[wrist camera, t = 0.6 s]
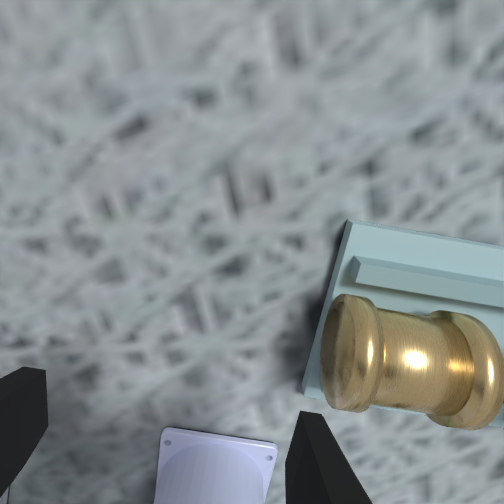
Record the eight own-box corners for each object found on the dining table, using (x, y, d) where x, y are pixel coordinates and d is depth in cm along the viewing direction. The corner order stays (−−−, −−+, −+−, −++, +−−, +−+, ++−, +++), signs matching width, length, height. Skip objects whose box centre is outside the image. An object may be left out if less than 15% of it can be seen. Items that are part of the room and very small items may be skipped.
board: (525, 420, 20) (555, 451, 18) (301, 384, 20) (306, 412, 18) (618, 266, 17) (669, 283, 15) (347, 219, 16) (360, 229, 14)
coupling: (314, 357, 18) (335, 437, 13) (337, 276, 16) (371, 333, 11) (414, 373, 18) (472, 458, 13) (448, 295, 16) (528, 358, 11)
